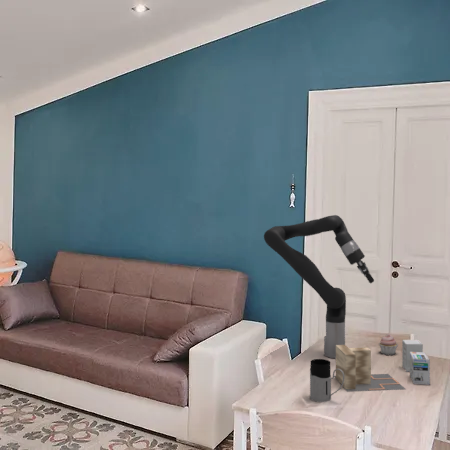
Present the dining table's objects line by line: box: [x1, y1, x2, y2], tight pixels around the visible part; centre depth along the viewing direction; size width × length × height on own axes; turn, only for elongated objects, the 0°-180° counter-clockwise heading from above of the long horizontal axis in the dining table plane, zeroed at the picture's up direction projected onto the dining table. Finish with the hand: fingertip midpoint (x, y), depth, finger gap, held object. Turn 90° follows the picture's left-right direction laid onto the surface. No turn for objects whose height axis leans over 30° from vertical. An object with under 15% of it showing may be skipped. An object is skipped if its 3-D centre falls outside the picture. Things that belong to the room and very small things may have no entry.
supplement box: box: [401, 339, 424, 373], centre depth 238 cm, size 7×7×13 cm
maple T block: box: [335, 344, 372, 390], centre depth 218 cm, size 12×14×14 cm
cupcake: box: [378, 333, 399, 356], centre depth 263 cm, size 9×9×10 cm
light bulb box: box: [409, 351, 431, 386], centre depth 224 cm, size 11×7×11 cm, turn 168°
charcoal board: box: [334, 373, 406, 393], centre depth 219 cm, size 24×19×1 cm
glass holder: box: [309, 358, 344, 403], centre depth 201 cm, size 9×14×15 cm, turn 51°
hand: (372, 282), depth 241 cm, fingers open, 8 cm apart
